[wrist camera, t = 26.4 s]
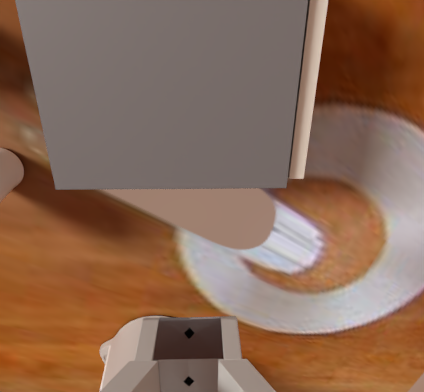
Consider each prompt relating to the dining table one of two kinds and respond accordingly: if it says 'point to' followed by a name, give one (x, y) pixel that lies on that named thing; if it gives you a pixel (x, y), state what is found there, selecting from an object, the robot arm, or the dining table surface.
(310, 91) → the drawer
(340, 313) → the dining table surface
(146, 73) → the cabinet
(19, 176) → the drinking glass
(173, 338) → the robot arm
